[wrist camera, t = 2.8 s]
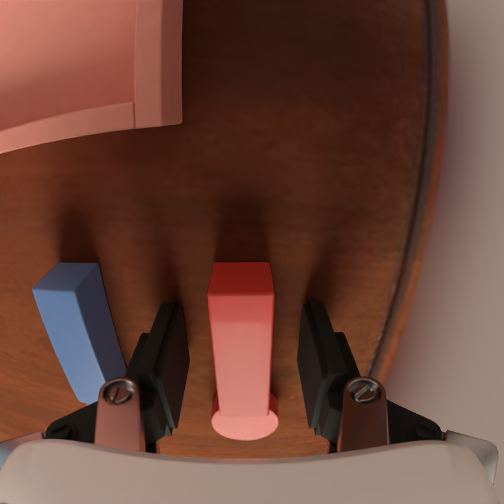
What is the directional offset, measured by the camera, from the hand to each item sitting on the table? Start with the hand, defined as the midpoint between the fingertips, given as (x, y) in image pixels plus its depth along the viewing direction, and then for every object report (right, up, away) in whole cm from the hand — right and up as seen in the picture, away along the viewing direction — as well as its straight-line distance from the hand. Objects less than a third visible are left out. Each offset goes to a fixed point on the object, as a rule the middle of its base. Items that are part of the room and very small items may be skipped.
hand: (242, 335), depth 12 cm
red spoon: (0, -1, +1) cm, 2 cm away
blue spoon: (-6, -1, +1) cm, 7 cm away
